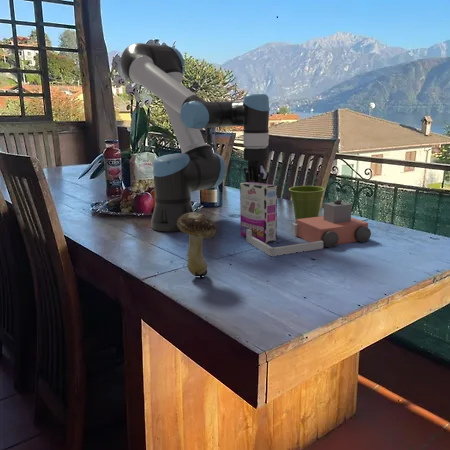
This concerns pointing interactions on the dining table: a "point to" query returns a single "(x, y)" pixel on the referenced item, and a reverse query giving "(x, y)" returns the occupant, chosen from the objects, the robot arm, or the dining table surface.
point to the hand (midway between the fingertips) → (255, 222)
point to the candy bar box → (259, 210)
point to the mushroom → (196, 239)
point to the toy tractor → (321, 231)
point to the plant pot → (306, 200)
